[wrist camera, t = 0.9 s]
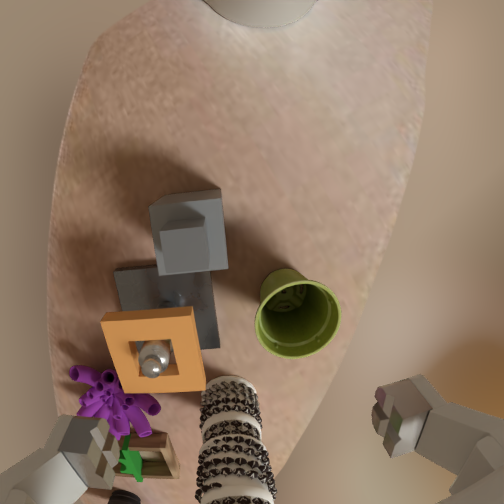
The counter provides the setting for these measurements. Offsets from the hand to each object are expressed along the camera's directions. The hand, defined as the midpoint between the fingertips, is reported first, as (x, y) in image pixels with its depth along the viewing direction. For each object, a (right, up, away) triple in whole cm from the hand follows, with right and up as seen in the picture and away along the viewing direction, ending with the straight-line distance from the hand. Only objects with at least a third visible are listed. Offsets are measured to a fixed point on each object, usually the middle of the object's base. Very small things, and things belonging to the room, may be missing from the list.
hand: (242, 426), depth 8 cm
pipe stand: (-10, -2, +32) cm, 34 cm away
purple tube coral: (-20, -17, +36) cm, 44 cm away
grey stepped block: (-6, +9, +29) cm, 31 cm away
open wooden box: (-22, -31, +40) cm, 55 cm away
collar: (-9, -5, +23) cm, 25 cm away
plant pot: (+4, 0, +33) cm, 33 cm away
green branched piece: (-22, -31, +40) cm, 55 cm away
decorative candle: (-3, -17, +37) cm, 41 cm away
